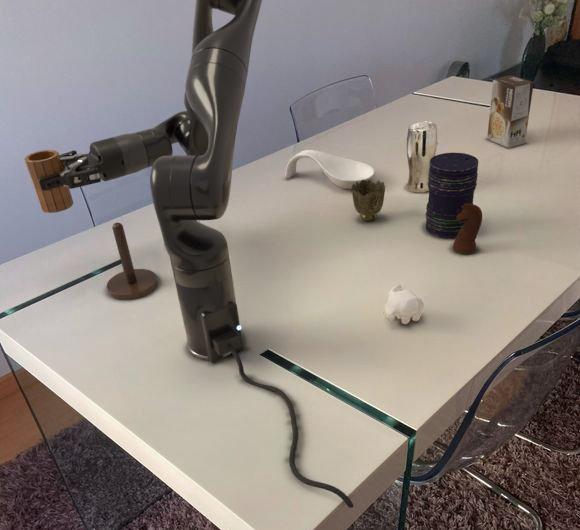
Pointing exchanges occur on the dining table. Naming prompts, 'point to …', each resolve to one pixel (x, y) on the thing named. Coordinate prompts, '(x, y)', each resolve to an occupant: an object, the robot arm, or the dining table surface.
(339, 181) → the spoon rest
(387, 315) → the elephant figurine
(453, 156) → the storage jar
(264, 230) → the dining table surface
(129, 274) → the peg stand
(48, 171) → the wooden stave pot
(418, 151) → the beer glass
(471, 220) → the chess piece
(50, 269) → the dining table surface
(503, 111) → the coffee box
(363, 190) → the cup
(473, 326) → the dining table surface
